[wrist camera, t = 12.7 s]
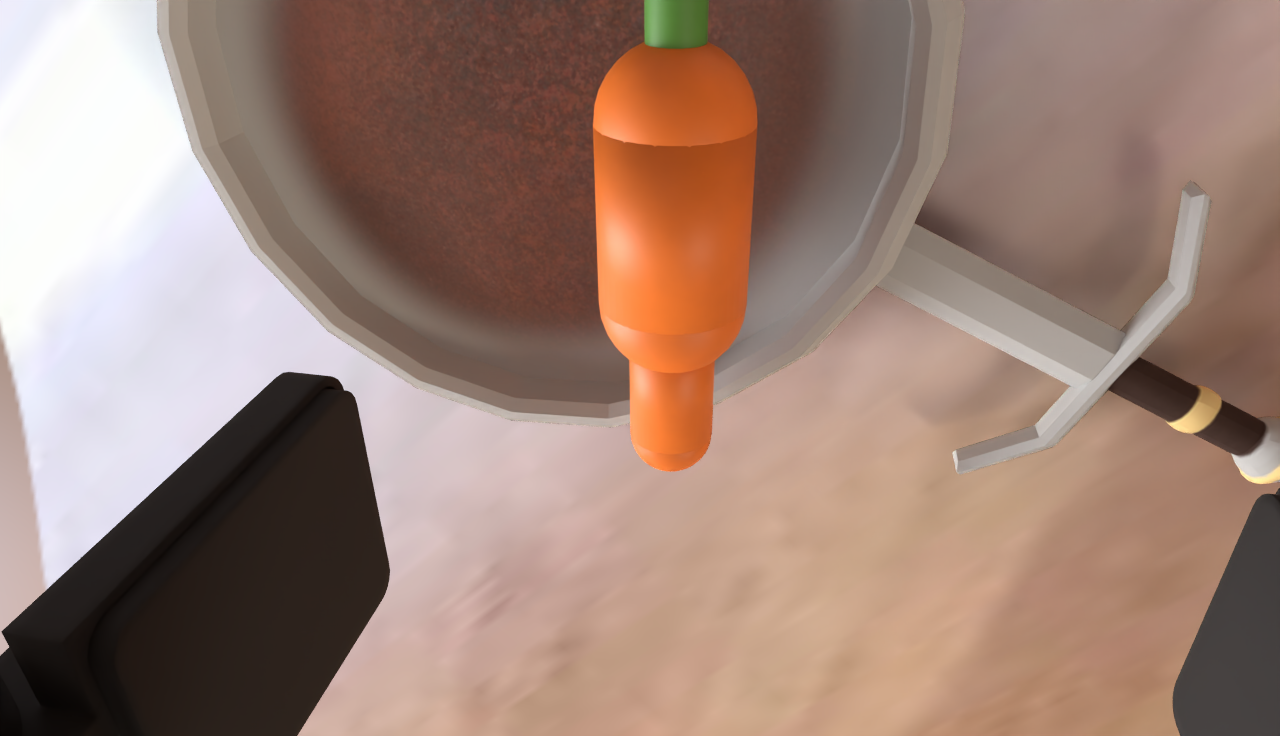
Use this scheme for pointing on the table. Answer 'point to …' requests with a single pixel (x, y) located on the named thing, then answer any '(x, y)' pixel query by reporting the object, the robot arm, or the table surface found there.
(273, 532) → the robot arm
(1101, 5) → the table surface
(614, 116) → the carrot
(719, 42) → the frying pan
